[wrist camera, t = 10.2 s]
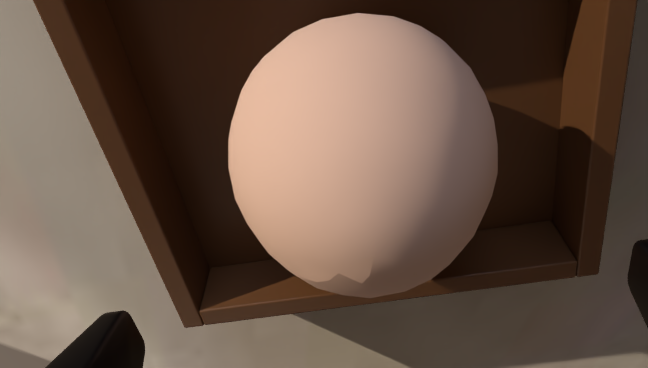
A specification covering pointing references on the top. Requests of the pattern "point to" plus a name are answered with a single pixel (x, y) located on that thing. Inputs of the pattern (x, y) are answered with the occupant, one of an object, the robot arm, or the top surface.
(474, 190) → the egg
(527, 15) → the tray
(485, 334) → the top surface
